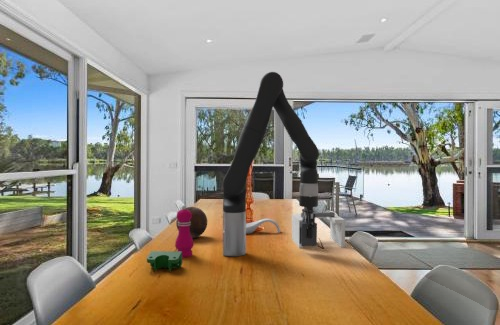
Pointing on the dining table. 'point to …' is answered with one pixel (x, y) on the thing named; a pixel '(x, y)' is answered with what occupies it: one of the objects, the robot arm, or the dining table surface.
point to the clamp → (165, 259)
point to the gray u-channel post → (303, 235)
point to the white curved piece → (254, 225)
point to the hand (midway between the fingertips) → (308, 236)
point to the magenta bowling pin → (184, 233)
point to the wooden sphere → (196, 222)
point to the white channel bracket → (335, 227)
